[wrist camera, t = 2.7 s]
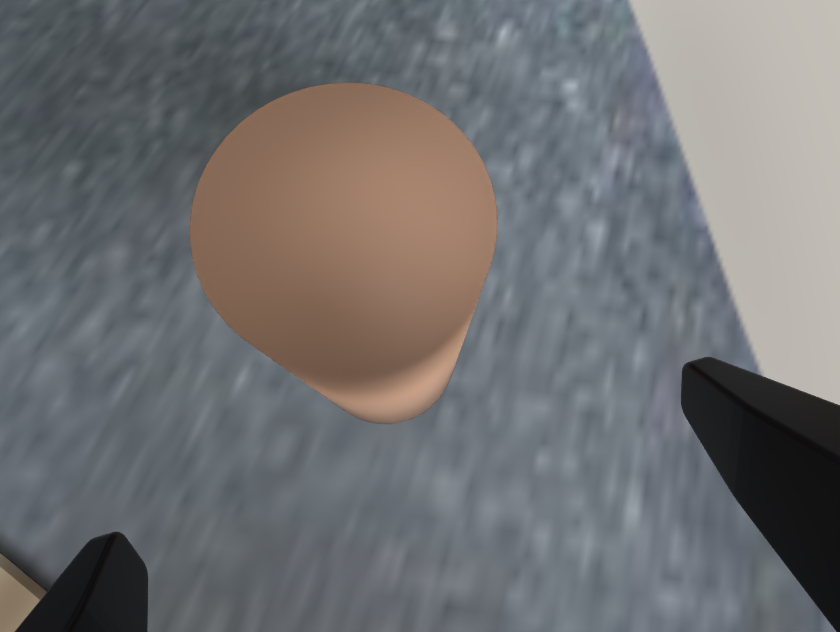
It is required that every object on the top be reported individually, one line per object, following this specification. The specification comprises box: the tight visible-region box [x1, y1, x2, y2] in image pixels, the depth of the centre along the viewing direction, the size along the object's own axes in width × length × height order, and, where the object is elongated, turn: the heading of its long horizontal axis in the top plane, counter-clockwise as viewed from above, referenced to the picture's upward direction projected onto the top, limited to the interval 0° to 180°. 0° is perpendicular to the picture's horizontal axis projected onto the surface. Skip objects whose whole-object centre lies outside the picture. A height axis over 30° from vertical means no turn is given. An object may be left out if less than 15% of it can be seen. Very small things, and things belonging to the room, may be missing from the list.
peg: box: [190, 83, 497, 424], centre depth 15 cm, size 5×5×12 cm
